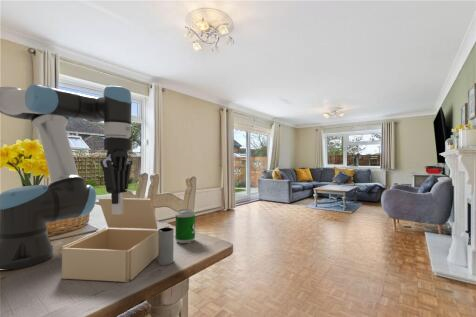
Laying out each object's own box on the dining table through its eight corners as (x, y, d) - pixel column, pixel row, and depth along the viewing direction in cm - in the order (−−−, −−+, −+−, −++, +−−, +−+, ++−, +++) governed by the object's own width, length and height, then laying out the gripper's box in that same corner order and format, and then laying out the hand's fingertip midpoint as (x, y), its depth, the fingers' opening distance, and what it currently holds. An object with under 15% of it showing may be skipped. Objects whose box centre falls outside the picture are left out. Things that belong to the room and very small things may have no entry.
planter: (165, 266, 71) (165, 232, 71) (155, 263, 73) (155, 229, 73) (176, 261, 75) (176, 228, 75) (166, 257, 77) (166, 226, 77)
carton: (58, 279, 63) (58, 248, 63) (105, 251, 83) (105, 227, 83) (129, 283, 61) (129, 251, 61) (161, 253, 81) (161, 229, 81)
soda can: (190, 245, 88) (190, 213, 88) (171, 243, 90) (172, 212, 90) (197, 238, 96) (197, 209, 96) (180, 237, 97) (180, 208, 97)
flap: (108, 227, 82) (98, 198, 77) (108, 226, 82) (99, 197, 77) (157, 228, 80) (150, 199, 75) (157, 227, 81) (151, 198, 76)
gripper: (116, 135, 66) (115, 219, 66) (140, 139, 79) (140, 209, 79) (91, 135, 67) (91, 218, 67) (119, 139, 80) (118, 209, 80)
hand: (117, 213), depth 73 cm, fingers closed
